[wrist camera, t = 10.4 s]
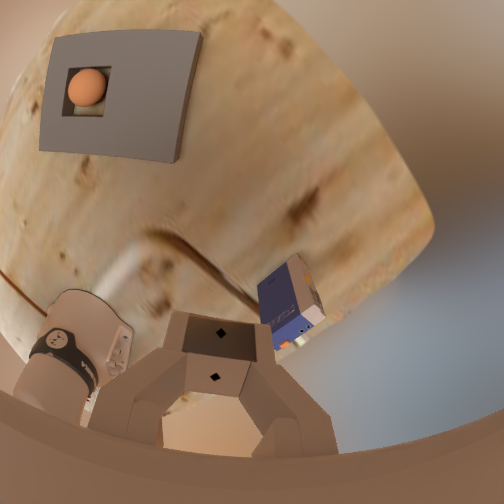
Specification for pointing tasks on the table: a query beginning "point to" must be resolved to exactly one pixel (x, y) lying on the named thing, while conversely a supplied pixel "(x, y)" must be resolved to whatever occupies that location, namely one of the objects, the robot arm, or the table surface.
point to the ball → (87, 87)
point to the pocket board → (122, 93)
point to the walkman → (289, 302)
